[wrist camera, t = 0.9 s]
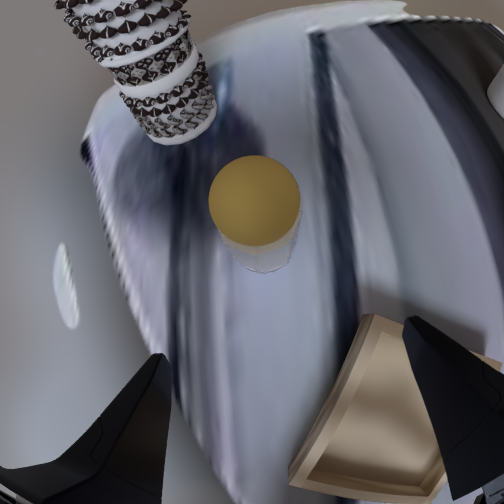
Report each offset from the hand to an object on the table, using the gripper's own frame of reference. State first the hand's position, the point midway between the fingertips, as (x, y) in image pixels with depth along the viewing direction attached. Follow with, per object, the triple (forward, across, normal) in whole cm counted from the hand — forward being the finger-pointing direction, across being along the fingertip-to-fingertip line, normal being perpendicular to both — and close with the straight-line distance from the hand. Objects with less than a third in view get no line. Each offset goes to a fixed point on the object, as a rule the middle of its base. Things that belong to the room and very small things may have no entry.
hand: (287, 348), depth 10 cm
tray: (+3, -9, +16) cm, 19 cm away
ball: (+8, +1, -2) cm, 9 cm away
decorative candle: (+26, +7, -8) cm, 28 cm away
